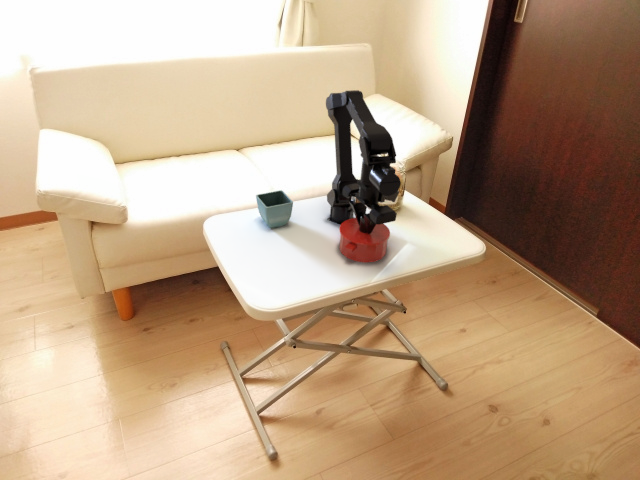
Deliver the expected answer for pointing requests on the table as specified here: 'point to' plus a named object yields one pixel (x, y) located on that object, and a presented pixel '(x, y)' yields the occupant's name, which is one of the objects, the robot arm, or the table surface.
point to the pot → (362, 251)
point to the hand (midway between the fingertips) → (364, 229)
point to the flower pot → (274, 208)
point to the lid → (363, 232)
